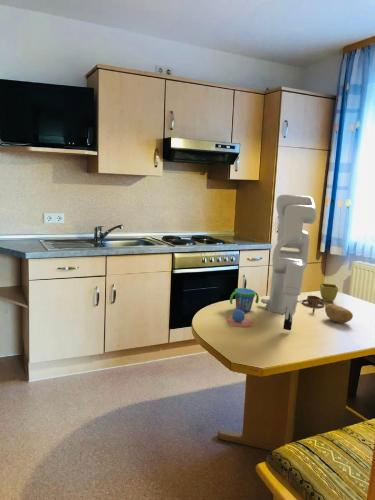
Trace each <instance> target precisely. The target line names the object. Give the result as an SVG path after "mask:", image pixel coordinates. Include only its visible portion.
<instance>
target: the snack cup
mask: <svg viewBox="0 0 375 500" xmlns="http://www.w3.org/2000/svg"><path fill="white" fill-rule="evenodd" d="M234 296H235V310H237V309H239V310H242V311H243V312H244V313H246V312H250V311H251V310H252V305H253V303H255V304H259V301H260V300H259V299H260V297H259V294H258V293H257V292H256V291H255V290H253V289H251V288H244V287H243V288H242V287H237V288H235V289H234V291H232V293H231V295H230V297H229V304H230V305H233V301H234V300H233V299H234ZM255 296H256V299H255V302H254V298H255Z"/></svg>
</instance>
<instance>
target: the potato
mask: <svg viewBox="0 0 375 500" xmlns="http://www.w3.org/2000/svg"><path fill="white" fill-rule="evenodd" d="M324 311H325V313H326V317H327V318H328V319H330V321H332V322H334V323H340V324H341V323H342V324H346V323H348V322H351V321H352V319H353V317H354V316H353V312H351V311H350V310H349V309H348V308H345V307H343V306H340V305H337V304H334V303H329V304H327V305H325V307H324Z"/></svg>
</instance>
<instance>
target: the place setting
mask: <svg viewBox="0 0 375 500" xmlns="http://www.w3.org/2000/svg"><path fill="white" fill-rule="evenodd" d="M297 303H301V304H302V305H304V306H305V307H309V308H312V313H315V309H322V308H325V307H324V306H325V303H323V302H322V301H321V298H320V297H319V296H316V295H307V296H306V299H303V300H297ZM320 311H322V312H323V310H320Z"/></svg>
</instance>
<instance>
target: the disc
mask: <svg viewBox="0 0 375 500" xmlns="http://www.w3.org/2000/svg"><path fill="white" fill-rule="evenodd" d="M225 322H226V323H228V325H231V326H233V327H238V326H240V328H248V327H249V326H250V327H253V326H254V325H255V322H254V321H253V320H252V319H250V318H248V317H245V318H244V320H243V321H242V322H235V321H234V320H233V318H232V316H228V317H227V318H226V319H225ZM253 324H254V325H253Z"/></svg>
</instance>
